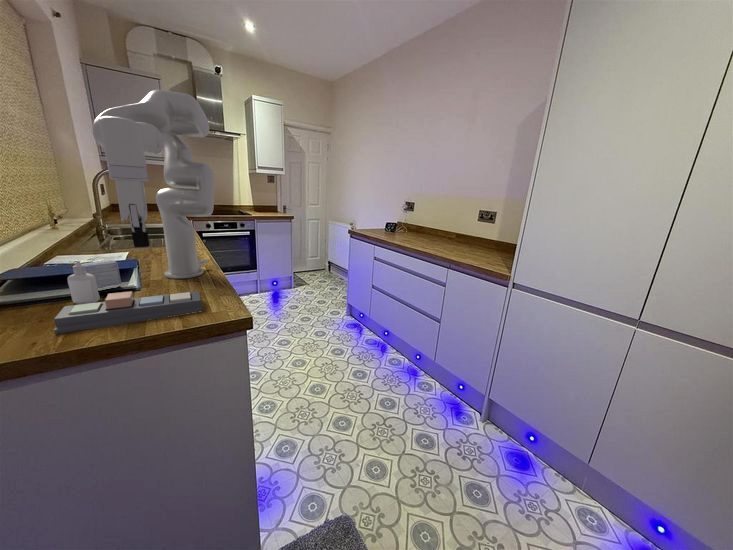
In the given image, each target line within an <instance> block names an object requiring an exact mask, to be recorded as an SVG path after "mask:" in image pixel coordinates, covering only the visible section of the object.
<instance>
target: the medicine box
mask: <svg viewBox="0 0 733 550" xmlns="http://www.w3.org/2000/svg"><path fill="white" fill-rule="evenodd" d="M81 264H82V265H85V268H86V273H89V274H92V275H94V276H95V279H96V283H97V287H98V288H103V287H106V286H111V285H118V284H121V285H122V281H121V275H120V269H119V263H118V262H117V261H115V260H113V259H105V260H99V261H92V262H91V261H90V262H85V263H81Z"/></svg>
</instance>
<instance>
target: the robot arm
mask: <svg viewBox="0 0 733 550" xmlns="http://www.w3.org/2000/svg"><path fill="white" fill-rule="evenodd" d="M206 115H207V114H206V113H205V112H204V110H203V108H202V107H201V104H200V103H199V102H198V101H197V99H196V98H195V97H193V96H192V95H191V94H188V93H185V92H179V91H170V90H163V89H154V90H151V91H149V92H148V93H147V94H146V95H145V96H144V97H143V98H142V99H141V100H140V101H139V102H137V103H130V104H125V105H121V106H116V107H115V106H114V107H111V108H107V109H106V110H104V111H103V112H101V113H100V114H99V115H97V116H96V118H95V119H94V121H93V124H92V130H91V131H92V135H93V138H94V140H95V142H96V143H97V144H98V145H99V146H100V147H102V148H103V151H104V155H105V160H106V165H107V169H108V170H107V171H108V175H109V179H110V180H111V181H112V180H113V181H115V187H116V195H117V203H118V208H119V214H120V219H121V222H123V223H126V222H127V221H128V219H129V223H130V228H131V238H132V242H133V246H134V248H148V247H150V238H149V233H148V230H147V226H146V221H147V219H148V205H147V196H146V190H145V184H144V182H149V181H150V180H149V173H148V172H149V171H148V167H147V161H146V155H157V154H160V153H161V152H163V150H164V158H163V159H164V160H163V161H164V162H163V179H164V182H165V183H166V184H167V185H168V186H170V187H165V188H161V189H160V190H158V191H157V192H156V194H155V202H156V205H157V208H158V211H159V215H160V218H161V222H162V226H163V227H162V228H163V236H164V242H165V243H164V244H165V249H166V251H165V252H166V256H167V258H166V259H167V265H168V266H167V267H168V269H167V270H165V271H164V277H165V278H168V279H175V280H176V279H190V278H195V277H199V276H201V275H203V274H204V269H203V268H201V267H202V266H203V265H206V264H207V263H208V261H207V260H206V259H201V260H199V259H198V251H197V241H196V234H195V232H196V231H195V227H194V225H193V224H192V223H193V222H191V221H190V220H189V219H188V218H187V217H210V216H211V215H212V214H213V211H214V209H215V208H214V205H215V204H214V203H215V176H214V175H215V174H214V170H213V169H212V167H211V166H210V165H209V164H207V163H205V162H200V161H193V151H192V149H191V148H190V147H189V145H188V144H187V143H186V142H185V141H184V140H183V139H182V138H181V137H180V136H185V137H194V138H196V137H197V138H206V137H207V136H208V135H209V134H210V124H209V120H208V118H207V116H206Z"/></svg>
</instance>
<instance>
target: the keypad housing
mask: <svg viewBox="0 0 733 550" xmlns="http://www.w3.org/2000/svg"><path fill="white" fill-rule="evenodd" d="M189 292H190V297H191V300H187V301H179V302H171V303H170V294H171V293H170V294H162V295H163V299H164V303H163V304H155V305H147V306H140V301H141V298H142V297H133V299H134V300H133V303H132V306H129V307H121V308H113V309H107V308H106V303H105V301H100V302H101V303H102V307H101V309H100V311H99V312H91V313H83V314H75V315H70V312H71V310H72V309H73V308H74V306H75V305H76V304H73V305H66V306H65V305H64V306H63V308H62V309H61V310H60V311H59V312H58V313H57V315H56V316H55V317H54V319H53V321H54V325H55V328H54V329H53V331H54V334H55V335H56V334H62V333H63V334H64V333H70V332H77V330H78V331H82V330H83V331H84V330H89V329H96V328H105V327H109V326H119V325H124V324H132V323H137V321H139V322H144V321H143V320H146V321H150V320H149V319H152V320H158V319H157V318H159V319H163V318H162V317H166V318H169V317H168V316H173V317H175V316H174V315H180V316H182V315H181V314H186V313H192V312H199V311H202V312H203V307H202V301H201V299H202V298H201V294H200V291H197V290H196V291H189ZM186 315H187V314H186Z"/></svg>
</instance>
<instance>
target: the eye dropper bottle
mask: <svg viewBox="0 0 733 550" xmlns="http://www.w3.org/2000/svg"><path fill="white" fill-rule="evenodd" d="M82 264H83V263H81V261H80V260H75V264H74V265H73V266H72V271H73V273H72V274H70V275H68V276H67V279H66V280H67V284H68V289H69V293H70V295H71V300H72V303H73V304H75V305H80V304H88V303H97V302H100V300H101V297H100V292H98V287H97V283H96V279H95V276H94V275H92V274H89V273H86V268H85V265H82Z"/></svg>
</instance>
